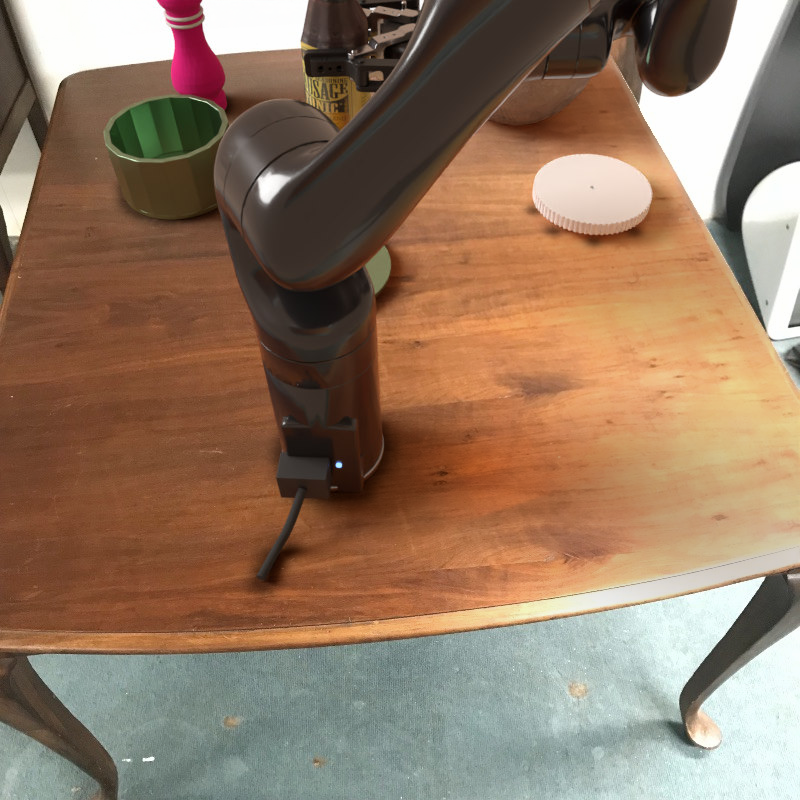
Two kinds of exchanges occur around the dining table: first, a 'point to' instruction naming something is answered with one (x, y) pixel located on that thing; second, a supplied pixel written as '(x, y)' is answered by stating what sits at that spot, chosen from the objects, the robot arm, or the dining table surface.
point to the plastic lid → (592, 194)
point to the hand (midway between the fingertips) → (307, 44)
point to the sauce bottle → (328, 29)
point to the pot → (167, 154)
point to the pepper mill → (193, 53)
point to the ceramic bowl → (538, 100)
